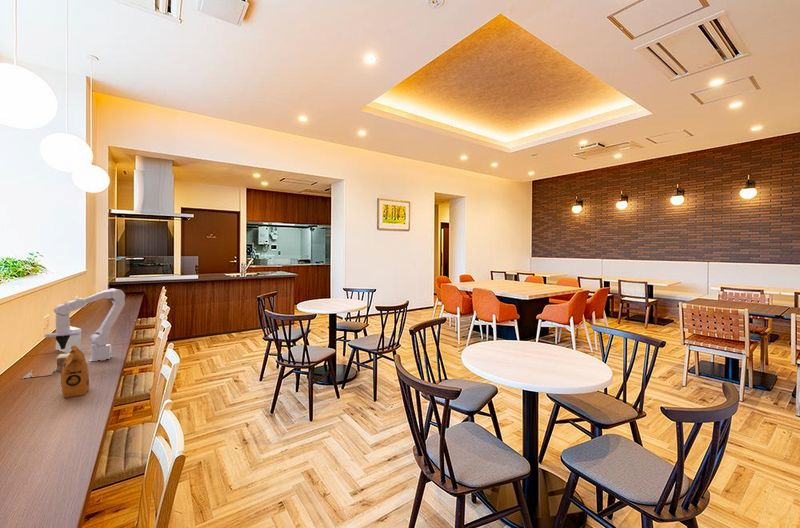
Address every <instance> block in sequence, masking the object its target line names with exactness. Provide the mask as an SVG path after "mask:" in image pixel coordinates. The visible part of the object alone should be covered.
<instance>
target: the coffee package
mask: <svg viewBox="0 0 800 528" xmlns="http://www.w3.org/2000/svg"><path fill="white" fill-rule="evenodd" d="M71 349H72V351H71V352H70V354H69V356H68V357H67V358H66V360H65V361H64V364H63V369H62V371H61V374H60V375H61V376H60V385H61V392H62V396H63V397H64V398H66V399H67V398H73V397H72V396H74V397H79V396H83V394H84V395H86V394H87V392H88V390H89V388H90V378H89V367H88V363H87V361H86V357H85V355H84V353H83V351H82V350H81V351H80V350H79V349H78V347H77V346H76V345H73V346H71ZM78 395H79V396H78Z"/></svg>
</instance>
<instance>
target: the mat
mask: <svg viewBox="0 0 800 528" xmlns="http://www.w3.org/2000/svg"><path fill="white" fill-rule="evenodd" d="M56 370H57V367H56V368H55V372H57V371H56ZM30 371H31V372H32V370H30ZM30 371H28V373H26V374H25V375H24V376H23V377H22V378H21V380H25V379H24V378H27V379H31V378H30V375H31V376H32V375H33V374H32V373H31V372H30ZM47 375H51V376H52V375H54V373H52V374H47ZM32 377H33V376H32ZM34 377H35V376H34Z"/></svg>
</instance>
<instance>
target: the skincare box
mask: <svg viewBox="0 0 800 528" xmlns="http://www.w3.org/2000/svg"><path fill="white" fill-rule="evenodd" d="M77 331H80V335H73V336H70V338H69V339H68V341H67V343H66V347H65V349H61V347H60V345H59V343H58V342H57V340H56V339H55V350H56V351H58V350H59V352H61V351H62V353H64V354H68V353H70V352H71V351H72V349H71V346H73V345H76V346H77V347H78V349H79V350H80V351H81V352H82V349H81V348H82V328H79V327H76V326H71V325H70V332H77Z"/></svg>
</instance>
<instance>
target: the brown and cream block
mask: <svg viewBox="0 0 800 528" xmlns="http://www.w3.org/2000/svg"><path fill="white" fill-rule="evenodd" d="M69 354H70V353H60V354H58V356H56V364H57V371H56V372H62V371H61V370H62V369H63V364H64V361H65V360H66V358H67V357H68V356H69Z"/></svg>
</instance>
